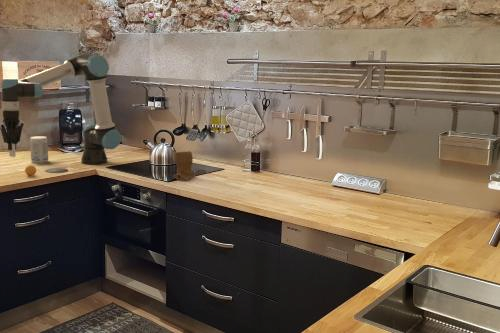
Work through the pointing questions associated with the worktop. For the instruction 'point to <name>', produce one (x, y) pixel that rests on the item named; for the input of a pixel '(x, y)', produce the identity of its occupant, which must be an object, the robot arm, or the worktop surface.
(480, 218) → the worktop surface
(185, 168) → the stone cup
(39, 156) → the supplement tub
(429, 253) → the worktop surface
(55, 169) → the disc
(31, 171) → the ball
